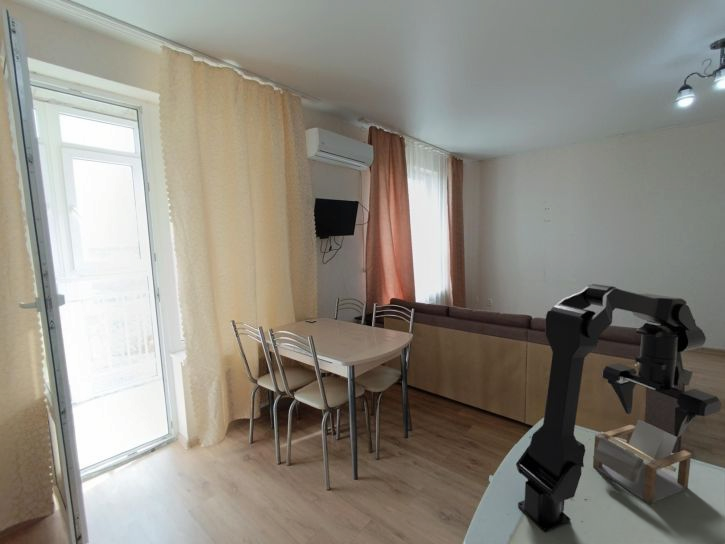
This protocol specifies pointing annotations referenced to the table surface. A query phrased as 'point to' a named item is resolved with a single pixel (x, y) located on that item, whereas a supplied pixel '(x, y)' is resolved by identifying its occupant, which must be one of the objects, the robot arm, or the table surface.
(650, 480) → the frame
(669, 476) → the mat
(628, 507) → the table surface
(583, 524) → the table surface
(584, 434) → the table surface
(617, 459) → the trapdoor
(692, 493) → the table surface
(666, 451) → the light grey block
